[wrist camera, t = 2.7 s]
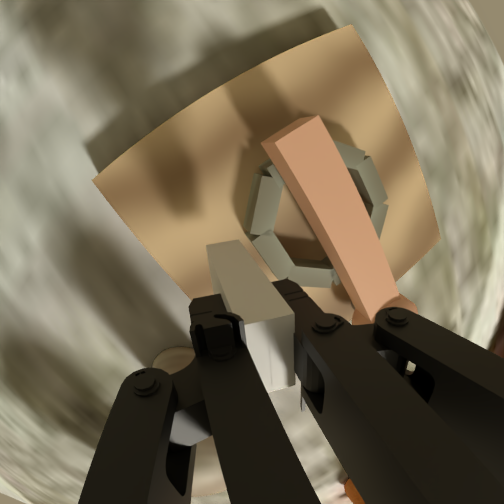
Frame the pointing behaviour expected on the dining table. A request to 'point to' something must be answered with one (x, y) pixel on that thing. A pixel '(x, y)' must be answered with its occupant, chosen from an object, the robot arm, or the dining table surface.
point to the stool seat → (274, 172)
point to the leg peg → (206, 458)
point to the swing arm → (336, 215)
